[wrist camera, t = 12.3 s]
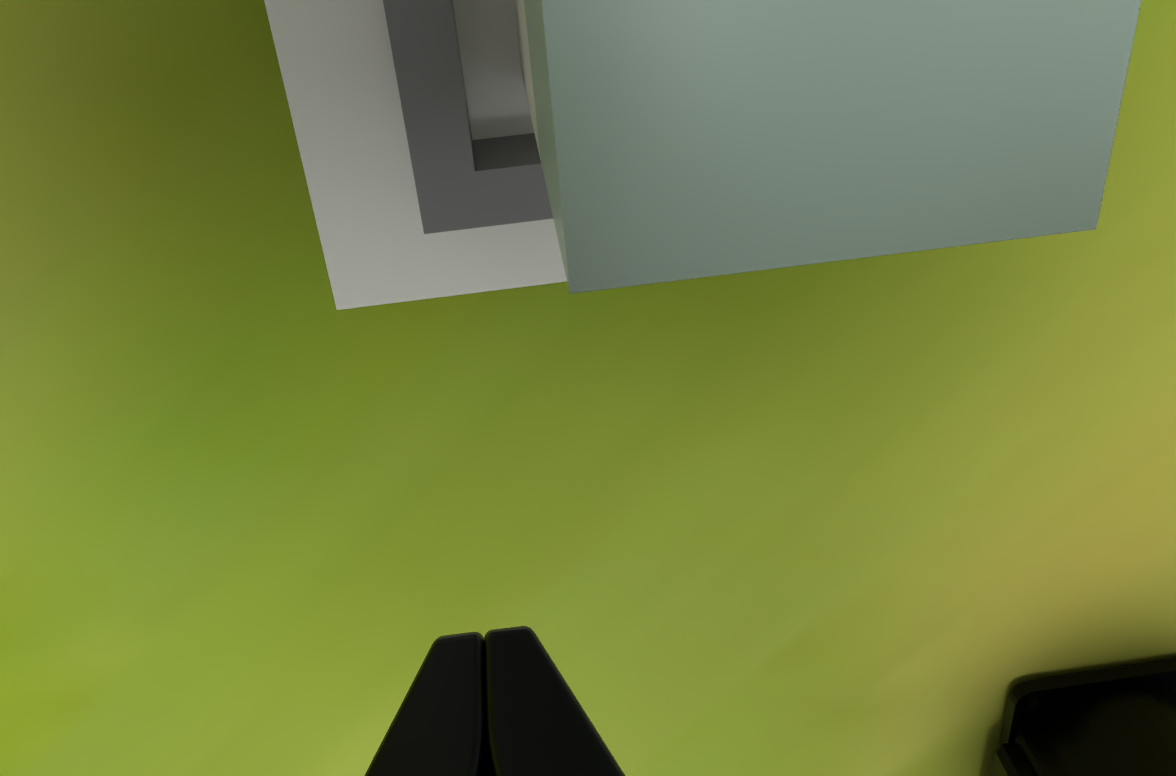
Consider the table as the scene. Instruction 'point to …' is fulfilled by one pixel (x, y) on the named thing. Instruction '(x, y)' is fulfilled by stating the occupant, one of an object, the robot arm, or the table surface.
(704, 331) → the table surface
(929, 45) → the grey green box
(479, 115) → the socket plate
